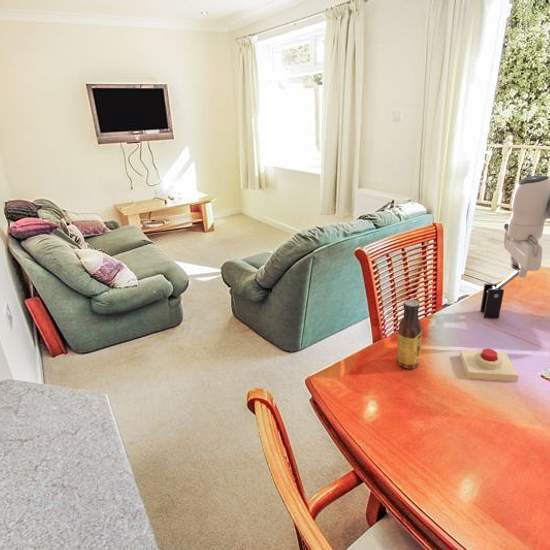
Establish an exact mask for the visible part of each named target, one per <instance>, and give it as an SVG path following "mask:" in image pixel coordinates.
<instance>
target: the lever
mask: <svg viewBox="0 0 550 550" xmlns="http://www.w3.org/2000/svg"><path fill="white" fill-rule="evenodd" d="M520 269H521V267H520V265H519V266H516V267H515V269H514V272H513V273H511V274H510V275H509V276H508V277H506V278H505V279H504V280H502V281H501V282H500V283H498V284H499V285H498V286H496V287H495V286H492V287H490V288H489V289H503V288H504V287H505V286H507V284H509V283H510V282H512V281H513V280H514V279H515V278H516V277H519V275H518V271H519V270H520ZM487 293H488V290H487Z"/></svg>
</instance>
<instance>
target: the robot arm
mask: <svg viewBox="0 0 550 550" xmlns="http://www.w3.org/2000/svg"><path fill="white" fill-rule="evenodd" d="M511 211H512V212H511V216H510V218H509V221H507V222H504V223H503V229H504V235H503V247H504V249H505V250H506V251H507V253H509V255H510V268H512V270H515V267H516V266H519V267H520V268H521V269H520V270H519V271H518V277H519V278H526V277H527V273H528V272H534V271H535V272H537V271H539V270H540V269H541V267H542V266H541V265H542V260H543V247H542V244H540V242H539V240H541V239H542V238H543V234H544V233H543V232H544V227H545V223H546V220H547V219H550V176H548V175H545V174H539V175H538V174H537V175H530V176H526V177H524V178H522V179H520V180H519V181H518V183H517V184H516V186H515V190H514V193H513V198H512V203H511Z"/></svg>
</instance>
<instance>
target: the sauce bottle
mask: <svg viewBox="0 0 550 550" xmlns="http://www.w3.org/2000/svg"><path fill="white" fill-rule="evenodd" d="M419 309H420V302H419V301H417V300H414V299H407V300H404V301H403V314H402V315H403V316H402V318H401V319H400V321H399V323H398V332H397V347H396V349H397V350H396V351H397V352H396V359H397V360H396V362H397V364H398V366H400V367H401V368H402V367H403V369H405V368H407V369H406V370H414V369H417V368H418V367H419V365H420V360H421V347H422V335H423V333H422V332H423V328H422V324H421V321H420V319H419Z"/></svg>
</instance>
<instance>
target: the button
mask: <svg viewBox="0 0 550 550" xmlns="http://www.w3.org/2000/svg"><path fill="white" fill-rule="evenodd" d="M482 350H483V351H482V356H481V357H482V358H483V359H484V360H487V361H496V359H497V352H498V351H496V350H494V349H491V348H484V349H482Z"/></svg>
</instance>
